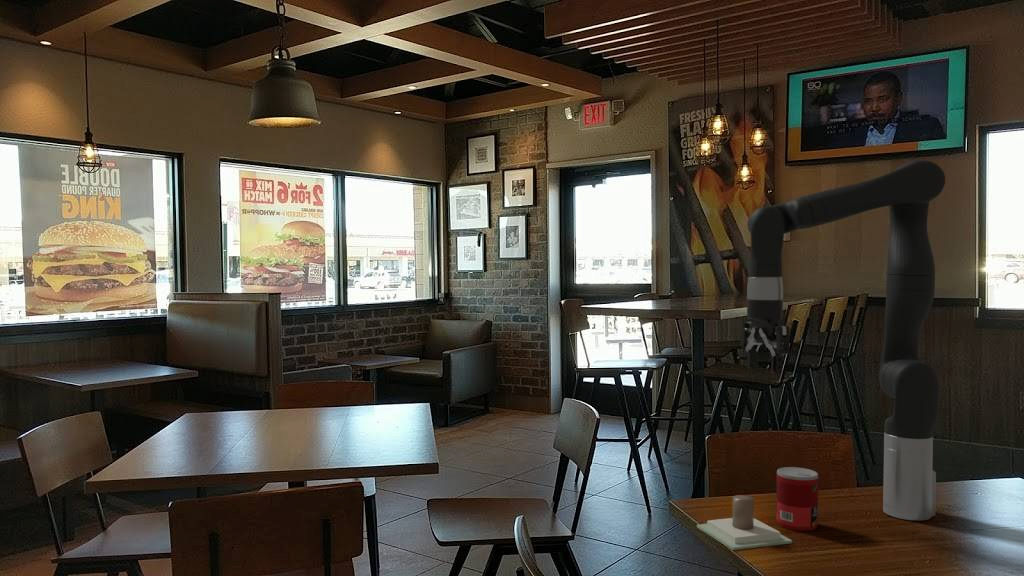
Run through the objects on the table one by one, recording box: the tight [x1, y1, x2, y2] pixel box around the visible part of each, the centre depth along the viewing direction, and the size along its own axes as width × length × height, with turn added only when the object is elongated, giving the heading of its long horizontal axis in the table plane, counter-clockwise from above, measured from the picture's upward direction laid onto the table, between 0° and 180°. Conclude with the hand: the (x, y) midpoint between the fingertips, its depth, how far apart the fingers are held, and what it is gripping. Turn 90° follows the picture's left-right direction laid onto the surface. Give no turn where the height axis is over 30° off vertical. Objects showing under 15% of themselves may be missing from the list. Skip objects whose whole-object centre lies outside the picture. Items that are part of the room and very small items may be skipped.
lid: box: [706, 494, 781, 544], centre depth 149 cm, size 10×10×7 cm
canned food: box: [775, 466, 819, 532], centre depth 155 cm, size 8×8×11 cm
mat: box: [696, 523, 793, 551], centre depth 149 cm, size 13×13×1 cm
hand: (764, 370), depth 167 cm, fingers open, 8 cm apart
